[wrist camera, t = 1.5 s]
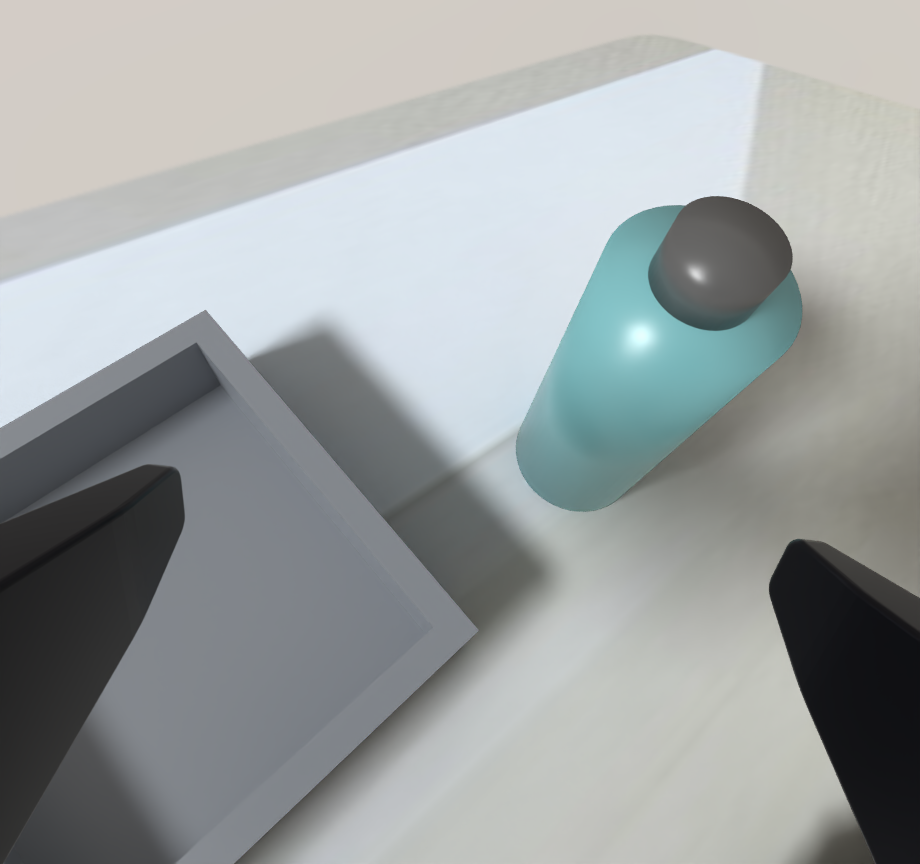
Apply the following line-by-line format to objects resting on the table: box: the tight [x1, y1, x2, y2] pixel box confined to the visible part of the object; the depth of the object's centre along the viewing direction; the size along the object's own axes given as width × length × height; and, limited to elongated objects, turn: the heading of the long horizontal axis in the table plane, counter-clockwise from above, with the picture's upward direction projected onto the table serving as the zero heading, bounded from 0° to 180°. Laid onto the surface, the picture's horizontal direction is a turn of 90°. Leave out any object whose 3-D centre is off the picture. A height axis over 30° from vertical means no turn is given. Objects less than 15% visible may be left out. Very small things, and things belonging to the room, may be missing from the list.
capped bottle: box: [516, 196, 802, 512], centre depth 19 cm, size 5×5×13 cm
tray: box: [0, 310, 479, 864], centre depth 19 cm, size 15×15×4 cm
